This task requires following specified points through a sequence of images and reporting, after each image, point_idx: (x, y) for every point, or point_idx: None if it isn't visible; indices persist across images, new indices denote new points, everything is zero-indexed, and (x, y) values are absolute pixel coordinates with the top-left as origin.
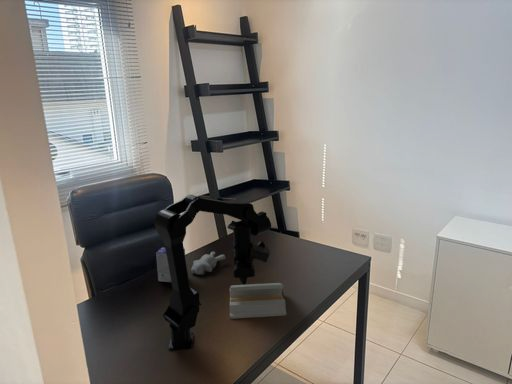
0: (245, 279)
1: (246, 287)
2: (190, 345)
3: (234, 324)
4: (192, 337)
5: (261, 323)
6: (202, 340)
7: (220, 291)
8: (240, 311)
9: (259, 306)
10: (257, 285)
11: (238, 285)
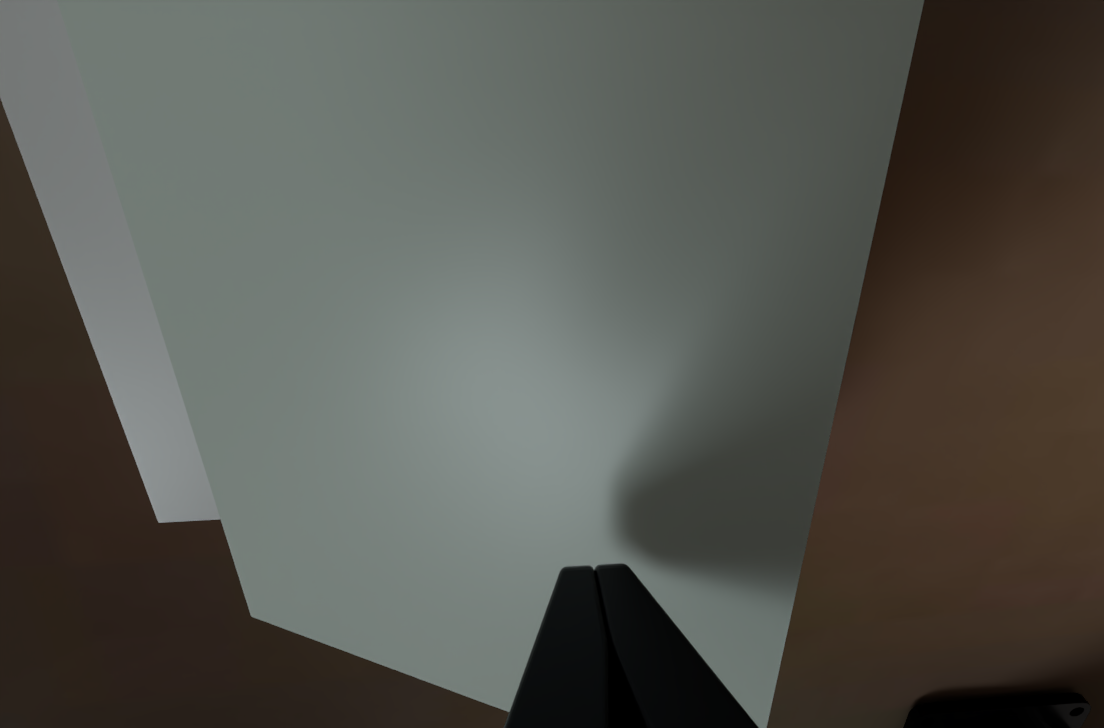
0: (720, 710)
1: (803, 544)
2: (1071, 709)
3: (882, 418)
4: (981, 713)
5: (981, 89)
6: (1014, 639)
7: (172, 592)
8: None
9: None
10: (578, 235)
11: (304, 545)
